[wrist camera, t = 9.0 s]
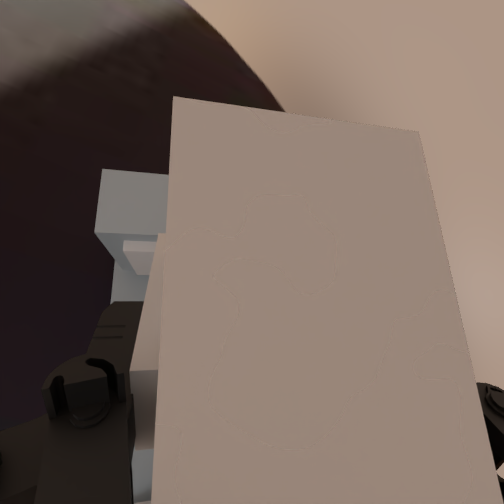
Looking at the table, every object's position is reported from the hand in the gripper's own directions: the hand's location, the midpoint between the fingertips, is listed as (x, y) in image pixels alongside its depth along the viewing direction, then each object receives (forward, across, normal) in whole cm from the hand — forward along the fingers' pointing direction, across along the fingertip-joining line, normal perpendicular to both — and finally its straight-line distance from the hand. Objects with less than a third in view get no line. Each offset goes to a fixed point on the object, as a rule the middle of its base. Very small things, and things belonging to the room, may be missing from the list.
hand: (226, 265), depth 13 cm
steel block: (0, 0, -5) cm, 5 cm away
